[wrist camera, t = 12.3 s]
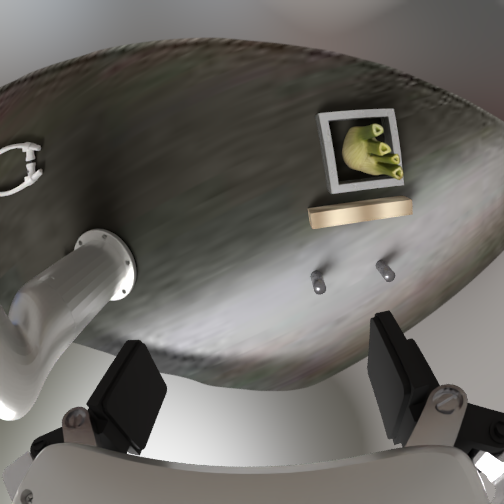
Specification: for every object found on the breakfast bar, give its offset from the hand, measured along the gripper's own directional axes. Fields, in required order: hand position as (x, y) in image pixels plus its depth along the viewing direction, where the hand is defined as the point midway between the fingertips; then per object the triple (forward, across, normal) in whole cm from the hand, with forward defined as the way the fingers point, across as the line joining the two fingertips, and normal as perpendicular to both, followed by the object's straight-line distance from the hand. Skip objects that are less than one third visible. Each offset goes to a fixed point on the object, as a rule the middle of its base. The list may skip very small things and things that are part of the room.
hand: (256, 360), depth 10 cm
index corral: (+28, -13, -6) cm, 32 cm away
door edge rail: (+28, -12, +2) cm, 31 cm away
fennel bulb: (+29, -13, -6) cm, 32 cm away
